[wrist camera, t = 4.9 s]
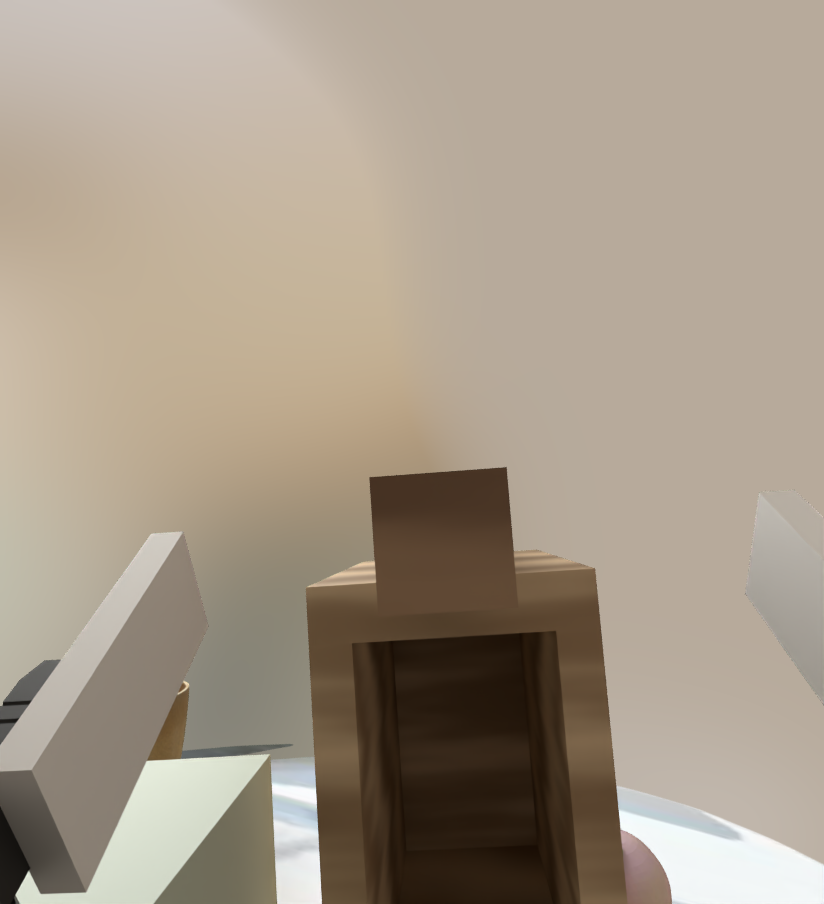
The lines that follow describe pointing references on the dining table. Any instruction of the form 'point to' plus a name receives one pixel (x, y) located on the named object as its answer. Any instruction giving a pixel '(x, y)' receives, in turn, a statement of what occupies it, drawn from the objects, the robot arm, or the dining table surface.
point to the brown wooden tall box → (464, 745)
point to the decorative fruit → (643, 873)
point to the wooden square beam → (443, 542)
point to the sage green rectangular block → (187, 838)
